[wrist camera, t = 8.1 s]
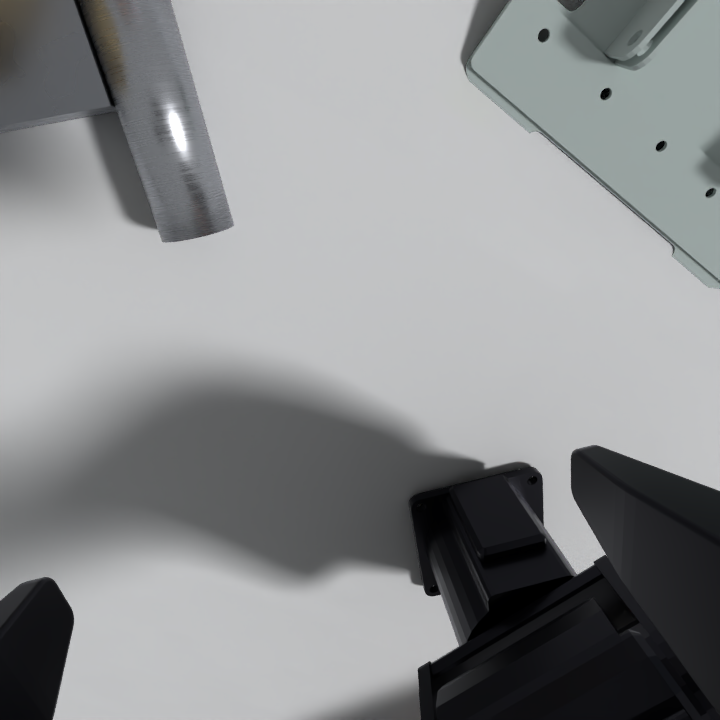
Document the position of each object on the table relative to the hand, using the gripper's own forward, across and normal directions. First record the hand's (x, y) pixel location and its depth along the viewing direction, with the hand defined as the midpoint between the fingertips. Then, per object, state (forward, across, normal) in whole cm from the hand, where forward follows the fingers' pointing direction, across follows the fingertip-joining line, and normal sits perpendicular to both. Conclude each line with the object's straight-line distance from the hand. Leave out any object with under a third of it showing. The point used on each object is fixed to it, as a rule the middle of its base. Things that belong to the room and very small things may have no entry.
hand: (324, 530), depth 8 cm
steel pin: (+12, +2, -8) cm, 14 cm away
